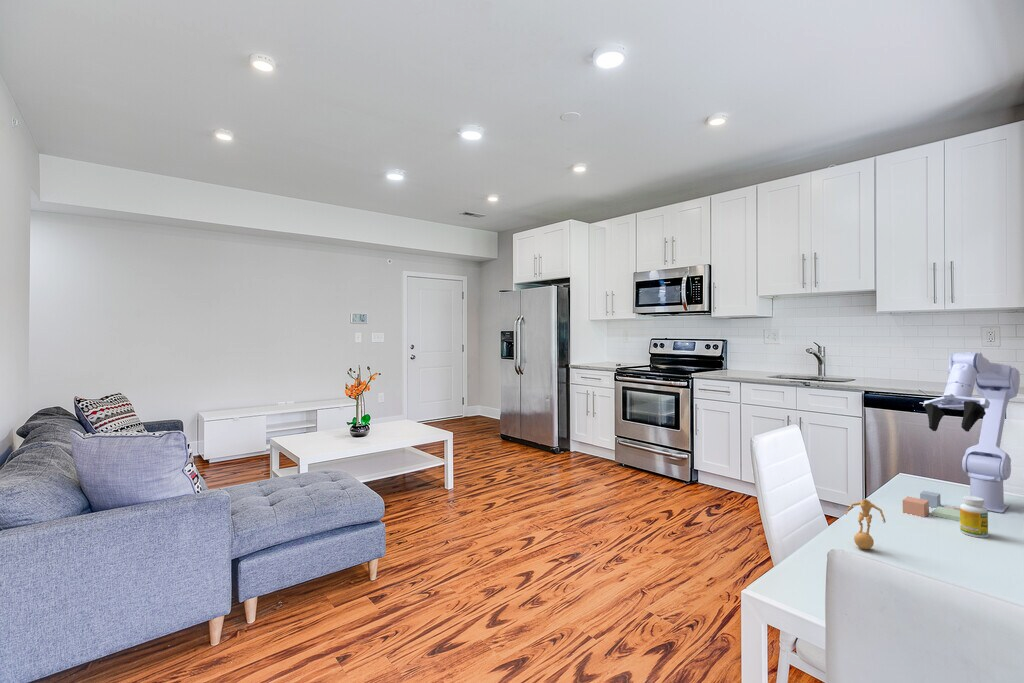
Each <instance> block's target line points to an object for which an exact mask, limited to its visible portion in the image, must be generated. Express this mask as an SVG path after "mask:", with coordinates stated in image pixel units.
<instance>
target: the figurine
mask: <svg viewBox="0 0 1024 683" xmlns="http://www.w3.org/2000/svg"><path fill="white" fill-rule="evenodd" d="M853 506H860V508H861V511H860V512H859V513H858V514H859V515H858V519H857V520H858V523H859V525H860V528H859V531H858V532H857V533H856V534H855V535H854V537H853V540H854V543H855V545H856V546H857V547H858V548H860V549H862V550H869V549H871V548H873V546H874V544H875V541H874V538H873V536H871V535H870V528H871V523H872V519H873V515H872V514H870V512H871V511H872V510H871V509H873V508H874V509H875V510H877V511H879V514H880V516H881V518H882V520H881V521H883V522H882V524H883V523H884V524H886V518H885V515H884V513H883V510H882V509H881V508H880V507H878V506H877V505H875V504H874V503H872V502H871V501H870V500H868V499H866V498H863V500H862V501H857V502H852V503H851V504H850V506H849V507H847V510H846V511H845V515H847V514H848V513H849V511H850V510H851V509H852V508H853ZM864 519H865V521H866V523H867V524H866V526H867V528H866V532H864V531H863V529H864V526H863V525H864V524H863V522H862V521H864Z"/></svg>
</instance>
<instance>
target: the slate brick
mask: <svg viewBox="0 0 1024 683" xmlns="http://www.w3.org/2000/svg"><path fill="white" fill-rule="evenodd" d="M919 499H923V500H928V501H929V507H931V508H930V509H933V508H937V507H938V506H939V507H942V506H941V493H939V492H933V491H928V490H923V491H921V492H920V493H919Z"/></svg>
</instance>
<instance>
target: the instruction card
mask: <svg viewBox="0 0 1024 683" xmlns="http://www.w3.org/2000/svg"><path fill="white" fill-rule="evenodd" d="M944 507H945V508H950V509H955V510H960V507H955V506H951V505H945V506H944Z"/></svg>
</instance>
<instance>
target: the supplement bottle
mask: <svg viewBox="0 0 1024 683" xmlns="http://www.w3.org/2000/svg"><path fill="white" fill-rule="evenodd" d="M962 501H963V503H961V504H960V506H959V508H960V521H959V524H960V527H959V528H960V533H962V534H963V533H964V534H963V535H965V534H966V536H968V535H969V536H968V537H972V536H973V537H974V538H978V537H980V539H985V537H986V538H988V537H989V517H988V516H989V512H988V511H989V510H987V509H986V508H985V507H983V505H984V499H982V498H979V497H974V496H971V495H963V497H962Z"/></svg>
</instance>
